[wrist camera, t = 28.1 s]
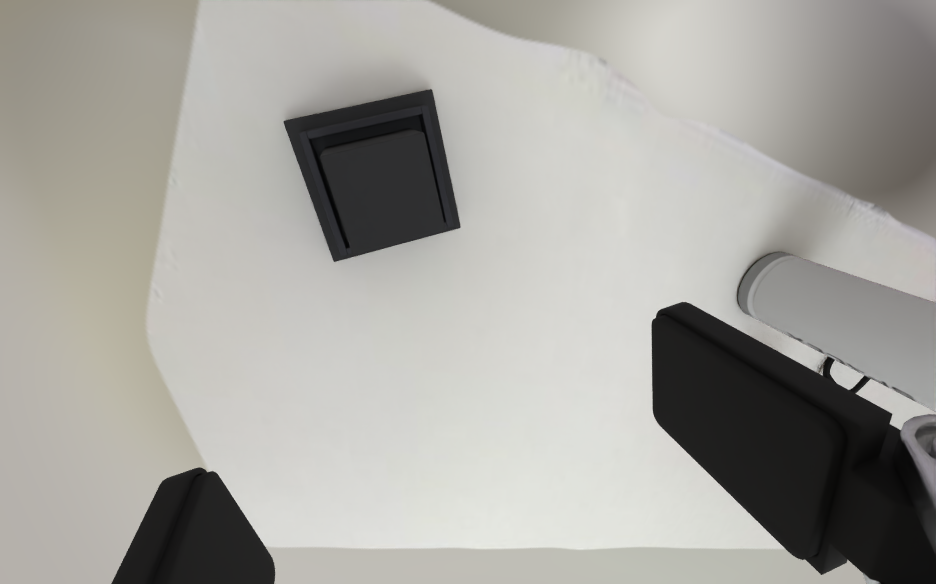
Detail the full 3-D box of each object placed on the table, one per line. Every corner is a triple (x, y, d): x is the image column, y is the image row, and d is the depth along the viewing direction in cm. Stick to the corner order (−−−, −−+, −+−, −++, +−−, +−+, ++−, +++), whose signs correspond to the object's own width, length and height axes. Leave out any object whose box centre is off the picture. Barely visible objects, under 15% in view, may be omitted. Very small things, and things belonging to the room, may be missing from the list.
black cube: (351, 230, 26) (352, 255, 22) (324, 147, 24) (319, 156, 19) (429, 210, 27) (446, 230, 22) (409, 127, 25) (424, 132, 20)
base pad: (334, 257, 27) (333, 270, 25) (285, 120, 24) (279, 121, 22) (457, 224, 29) (466, 234, 27) (429, 89, 25) (437, 88, 23)
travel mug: (799, 239, 37) (1205, 357, 20) (790, 302, 40) (1137, 456, 23) (738, 260, 37) (1108, 404, 19) (734, 323, 40) (1049, 500, 22)
